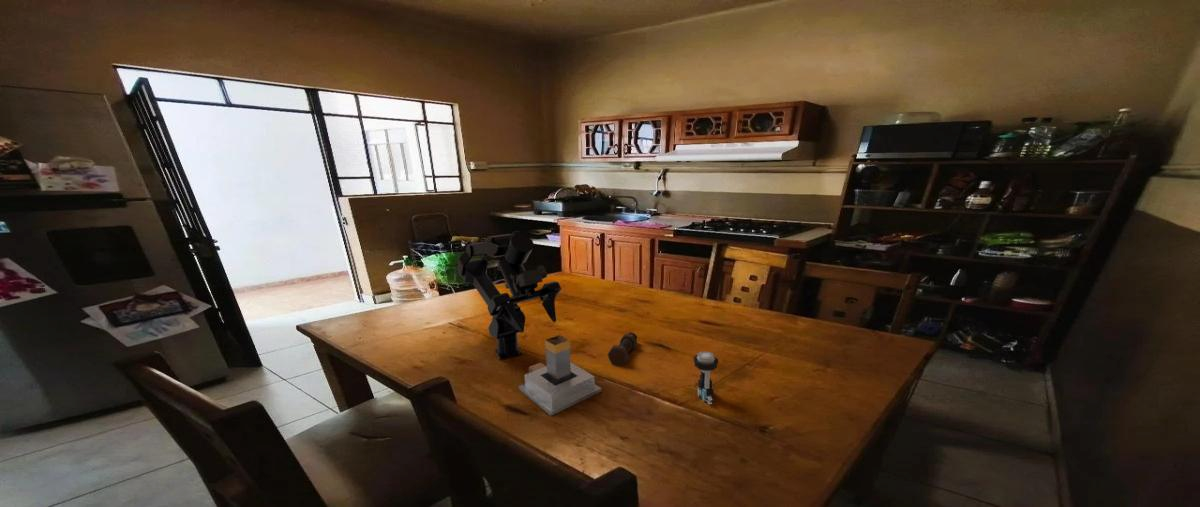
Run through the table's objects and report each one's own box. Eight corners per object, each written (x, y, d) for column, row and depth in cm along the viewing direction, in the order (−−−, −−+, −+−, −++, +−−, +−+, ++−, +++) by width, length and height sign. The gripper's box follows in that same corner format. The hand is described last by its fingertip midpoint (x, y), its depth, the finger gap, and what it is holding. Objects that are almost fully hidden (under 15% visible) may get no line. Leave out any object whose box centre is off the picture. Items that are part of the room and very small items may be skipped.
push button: (722, 405, 83) (723, 363, 81) (697, 406, 83) (698, 364, 81) (712, 389, 89) (714, 349, 87) (690, 390, 89) (690, 350, 87)
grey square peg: (547, 387, 90) (544, 339, 88) (562, 381, 93) (559, 334, 91) (557, 394, 87) (554, 345, 85) (571, 387, 90) (569, 340, 87)
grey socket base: (510, 382, 95) (509, 368, 94) (557, 363, 103) (556, 350, 103) (550, 415, 81) (550, 399, 80) (601, 391, 89) (601, 376, 89)
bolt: (634, 348, 116) (620, 370, 102) (621, 339, 117) (604, 359, 103) (644, 334, 114) (630, 354, 100) (630, 324, 115) (614, 343, 101)
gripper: (488, 263, 88) (514, 321, 82) (556, 251, 100) (582, 301, 94) (478, 288, 96) (500, 343, 90) (541, 274, 108) (565, 322, 102)
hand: (539, 326), depth 94 cm, fingers open, 9 cm apart
